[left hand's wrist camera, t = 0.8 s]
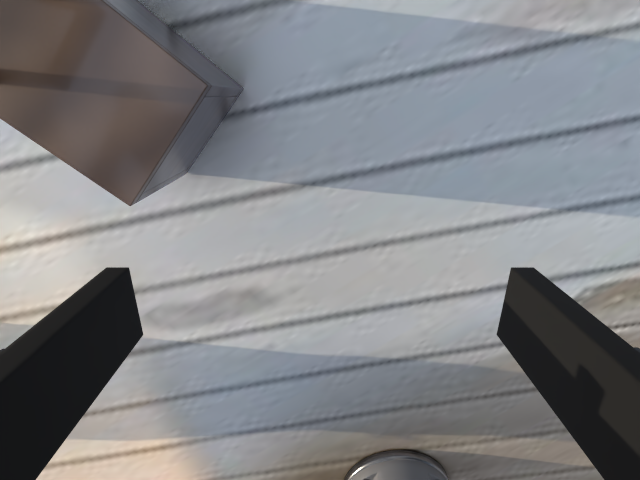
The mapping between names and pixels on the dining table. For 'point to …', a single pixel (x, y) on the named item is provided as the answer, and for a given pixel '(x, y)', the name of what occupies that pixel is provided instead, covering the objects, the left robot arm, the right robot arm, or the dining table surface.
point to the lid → (93, 89)
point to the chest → (210, 106)
